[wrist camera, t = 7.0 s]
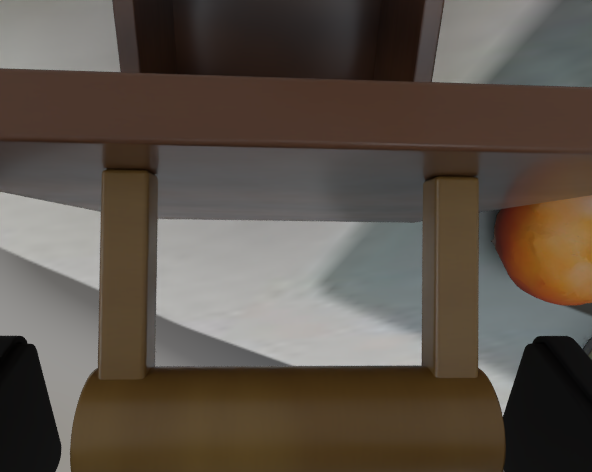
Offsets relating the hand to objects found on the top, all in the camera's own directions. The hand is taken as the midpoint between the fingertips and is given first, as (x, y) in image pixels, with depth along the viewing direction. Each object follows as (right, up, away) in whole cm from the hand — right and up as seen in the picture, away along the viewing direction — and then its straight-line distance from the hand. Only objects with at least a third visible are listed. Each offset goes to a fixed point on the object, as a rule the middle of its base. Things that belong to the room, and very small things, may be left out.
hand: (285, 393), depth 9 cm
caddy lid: (0, +5, +4) cm, 6 cm away
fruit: (+17, +4, +24) cm, 29 cm away
